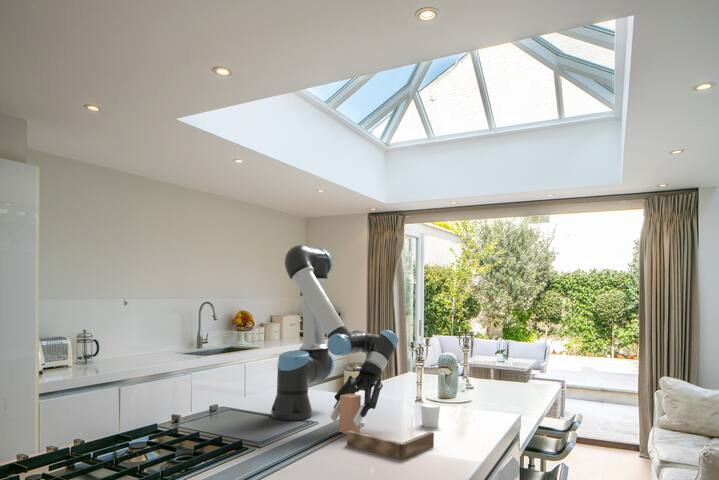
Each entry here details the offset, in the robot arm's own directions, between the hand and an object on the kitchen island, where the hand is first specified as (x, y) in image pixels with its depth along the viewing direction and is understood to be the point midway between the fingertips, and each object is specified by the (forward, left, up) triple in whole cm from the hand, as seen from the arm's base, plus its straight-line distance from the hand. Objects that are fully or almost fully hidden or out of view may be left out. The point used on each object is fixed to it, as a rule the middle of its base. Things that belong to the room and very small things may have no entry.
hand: (343, 421), depth 170 cm
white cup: (+23, +25, -4) cm, 34 cm away
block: (+1, +3, -4) cm, 5 cm away
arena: (+18, -5, -4) cm, 19 cm away
